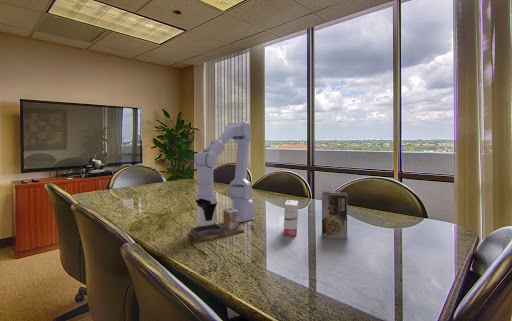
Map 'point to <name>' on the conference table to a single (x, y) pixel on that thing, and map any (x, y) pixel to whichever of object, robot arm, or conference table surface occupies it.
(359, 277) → the conference table surface
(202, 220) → the grey rectangular block
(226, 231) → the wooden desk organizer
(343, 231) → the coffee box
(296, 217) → the ink box
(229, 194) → the robot arm
